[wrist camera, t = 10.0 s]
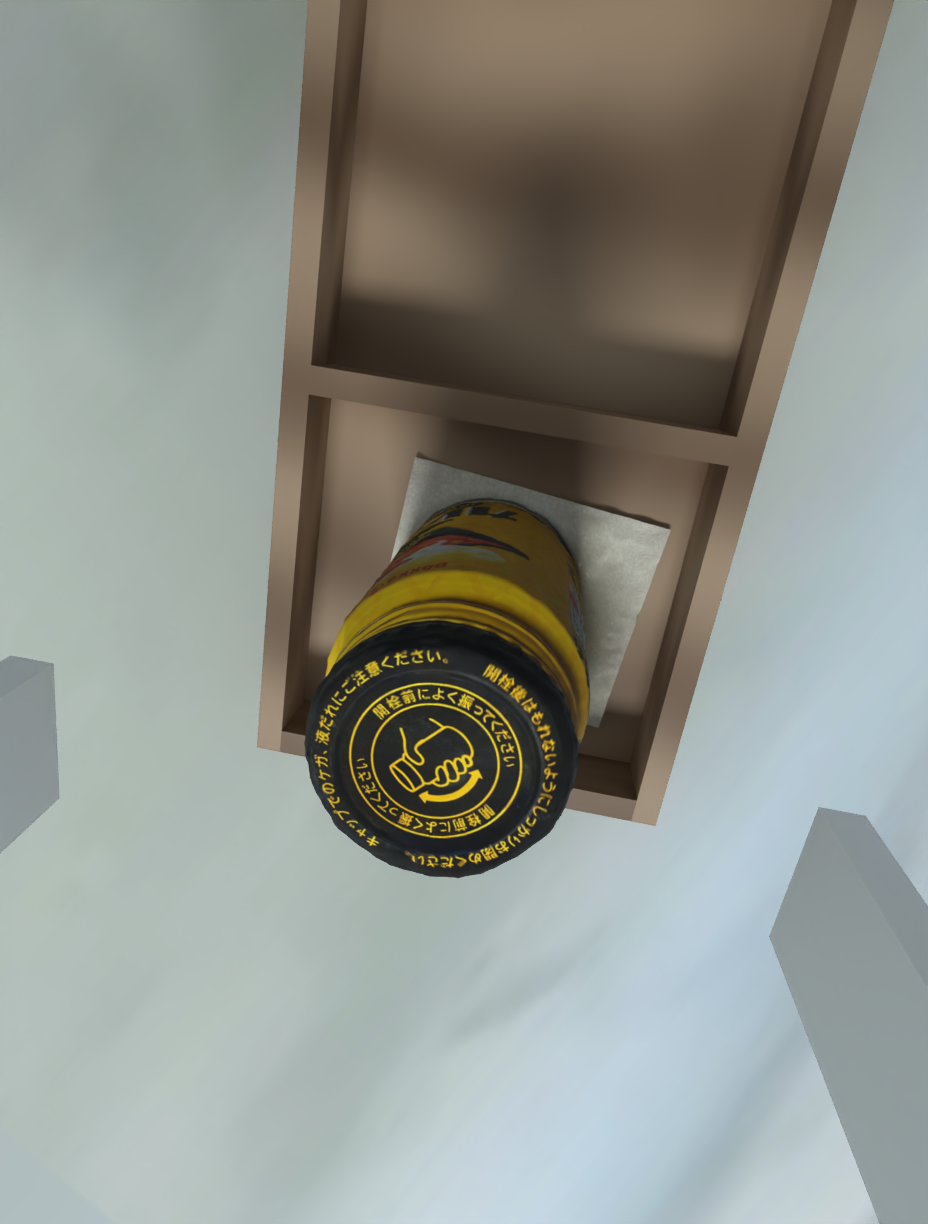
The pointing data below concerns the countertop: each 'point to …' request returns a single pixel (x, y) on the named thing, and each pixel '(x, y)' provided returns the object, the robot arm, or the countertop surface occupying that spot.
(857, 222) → the countertop surface
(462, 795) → the condiment
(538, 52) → the caddy
